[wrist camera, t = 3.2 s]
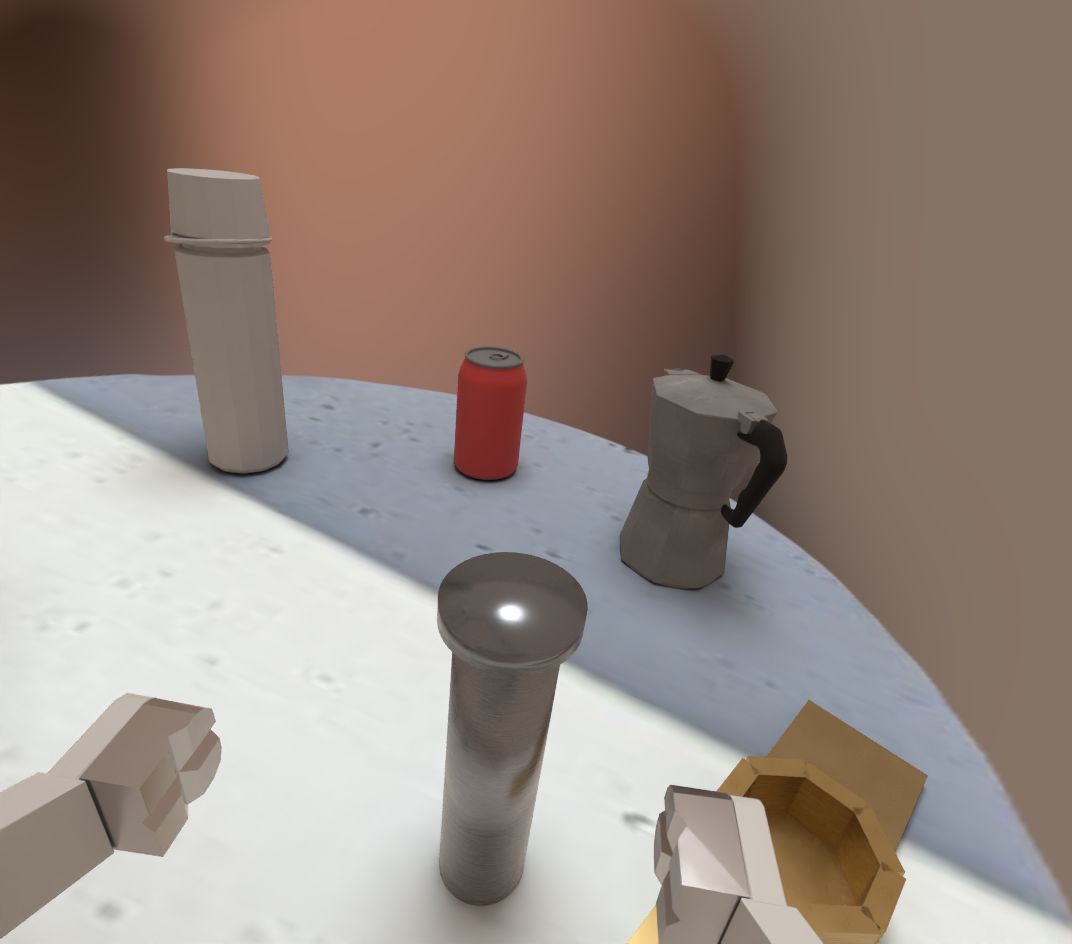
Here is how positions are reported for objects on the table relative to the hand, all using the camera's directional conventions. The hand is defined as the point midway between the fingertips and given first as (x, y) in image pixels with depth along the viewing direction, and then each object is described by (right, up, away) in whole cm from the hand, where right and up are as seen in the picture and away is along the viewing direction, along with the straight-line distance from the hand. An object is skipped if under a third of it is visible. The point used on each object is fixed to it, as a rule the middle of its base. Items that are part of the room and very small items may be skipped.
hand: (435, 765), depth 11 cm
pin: (-1, -13, +18) cm, 22 cm away
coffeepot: (+14, -3, +41) cm, 43 cm away
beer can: (-4, +5, +52) cm, 53 cm away
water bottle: (-27, +7, +49) cm, 56 cm away
